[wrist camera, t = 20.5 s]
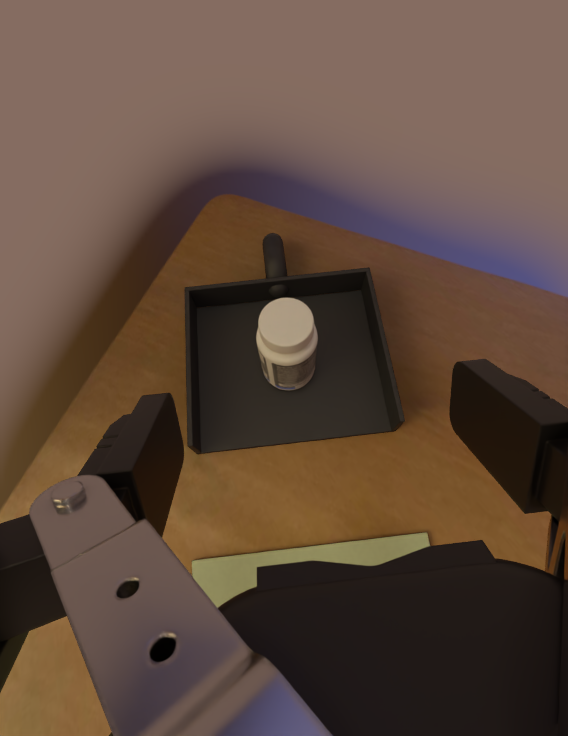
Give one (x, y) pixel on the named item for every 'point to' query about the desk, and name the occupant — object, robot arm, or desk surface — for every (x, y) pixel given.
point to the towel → (240, 571)
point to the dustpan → (245, 374)
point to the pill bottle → (287, 343)
